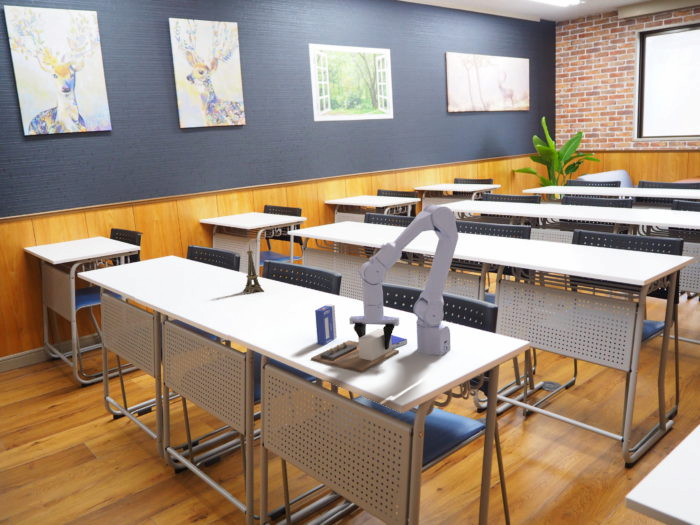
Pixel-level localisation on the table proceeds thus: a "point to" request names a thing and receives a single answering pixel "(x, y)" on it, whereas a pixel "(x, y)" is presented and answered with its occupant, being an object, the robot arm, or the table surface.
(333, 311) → the walkman
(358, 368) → the board
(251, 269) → the eiffel tower
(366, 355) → the block
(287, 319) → the table surface
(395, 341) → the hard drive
